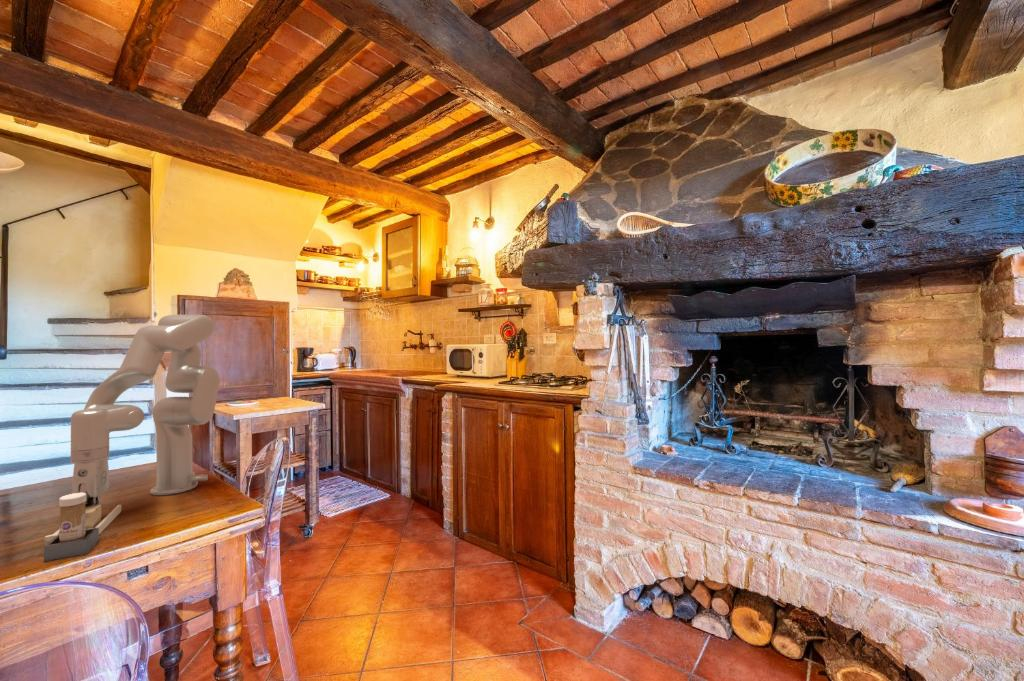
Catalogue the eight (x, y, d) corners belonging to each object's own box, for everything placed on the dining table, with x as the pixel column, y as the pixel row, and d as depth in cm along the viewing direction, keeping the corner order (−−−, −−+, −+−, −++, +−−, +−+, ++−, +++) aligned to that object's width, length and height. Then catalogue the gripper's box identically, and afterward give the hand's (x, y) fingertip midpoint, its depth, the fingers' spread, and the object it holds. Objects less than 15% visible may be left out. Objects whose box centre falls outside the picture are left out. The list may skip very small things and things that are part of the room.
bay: (121, 511, 124) (121, 501, 124) (92, 541, 105) (92, 529, 105) (81, 517, 119) (81, 506, 119) (44, 549, 101) (44, 537, 101)
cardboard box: (101, 526, 113) (101, 503, 113) (92, 535, 108) (92, 511, 108) (70, 530, 110) (70, 508, 110) (59, 540, 105) (59, 516, 105)
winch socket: (98, 541, 105) (98, 527, 105) (86, 553, 99) (86, 539, 99) (58, 548, 102) (58, 533, 102) (43, 561, 95) (43, 546, 95)
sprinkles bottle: (55, 557, 97) (55, 500, 97) (63, 548, 101) (64, 493, 101) (82, 552, 100) (82, 496, 100) (89, 544, 104) (89, 490, 104)
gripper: (97, 459, 110) (97, 528, 110) (118, 446, 123) (117, 508, 123) (58, 463, 106) (57, 534, 106) (83, 449, 119) (83, 513, 119)
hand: (90, 520), depth 114 cm, fingers closed
